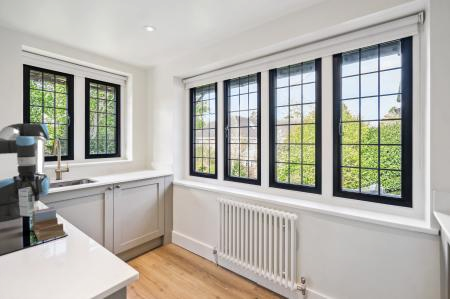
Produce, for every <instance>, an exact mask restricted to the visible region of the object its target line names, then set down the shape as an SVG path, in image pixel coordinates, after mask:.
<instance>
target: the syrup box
mask: <svg viewBox="0 0 450 299" xmlns="http://www.w3.org/2000/svg"><path fill="white" fill-rule="evenodd" d="M33 195H34V194H33V192H32V189H31V187H28V188H23V189H19V205H20V215H21V216H22V217H30V216H33V211H36V210H40V208H39V206H38V207H35V208H33V201H32V196H33Z"/></svg>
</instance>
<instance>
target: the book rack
mask: <svg viewBox="0 0 450 299" xmlns="http://www.w3.org/2000/svg"><path fill="white" fill-rule="evenodd" d="M31 228H32V231H34V232H33V234H34V233H35V234H34V236H35V235H36V236H35V238H36V237H37V238H36V239H37V241H38V242H43V241H47V240H50V239H54V238H58V237H63V236H65V235H66V232H65V230H64V223H62V222H61V223H58V217H57V209H55V207H47V208H43V209H39V210H36V211H33V215H32V226H31Z"/></svg>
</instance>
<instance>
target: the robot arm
mask: <svg viewBox="0 0 450 299" xmlns="http://www.w3.org/2000/svg"><path fill="white" fill-rule="evenodd" d="M48 141H50V133H49V128H48V125H47V124H45V123H13V124H10V125H7V126H4V127H3V128H2V129H0V155H4V154H5V155H6V154H9V155H10V154H16V159H17V162H16V163H17V165H18V166H17V173H18V175H15V176H12V177H11V178H6V179H0V222H5V221H12V220H15V219H19V218H21V217H23V216H21V215H20V205H19V189H23V188H28V187H31V189H32V192H33V194H34V195H33V196H32V201H33V208H35V207H38V208H39V200H40V197H44V196H47V195H48V193H49V190H50V186H51V185H50V181H51V180H50V178H49V177H48V176H47V174H46V173H45V144H47V143H48Z"/></svg>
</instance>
